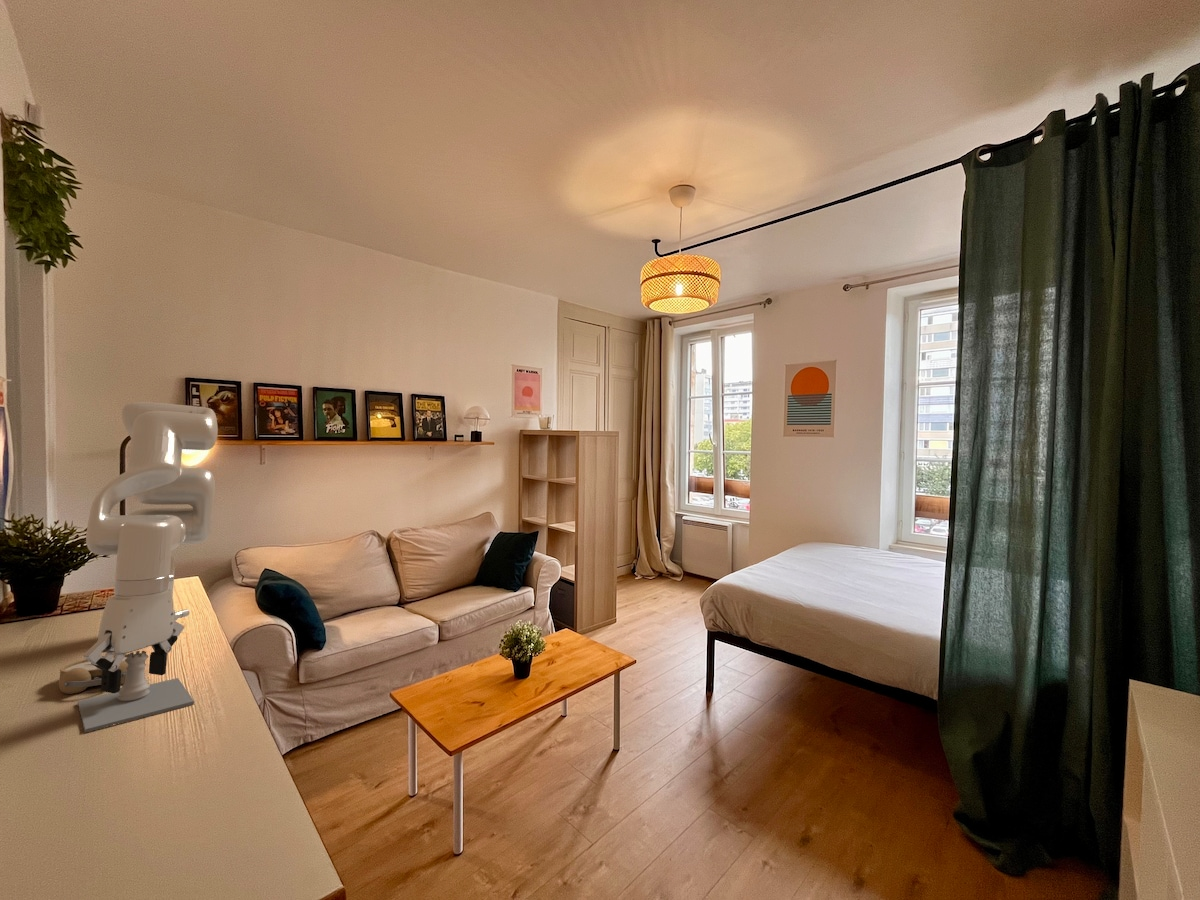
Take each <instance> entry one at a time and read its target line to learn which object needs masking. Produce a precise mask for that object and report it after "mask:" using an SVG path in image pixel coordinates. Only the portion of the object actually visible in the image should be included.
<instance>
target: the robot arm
mask: <svg viewBox="0 0 1200 900" xmlns="http://www.w3.org/2000/svg"><path fill="white" fill-rule="evenodd" d="M121 420H122V423H123V427H124V428H125V430H126V432H127V434H128V435H129V437H130V447H129V448H130V449H129V455H128V461H127V462H128V463H127V470H125V472H123V473H121V474H120V475H117V476H116V477H115V478H113V479H112V480H110V481H109V482H108V483H107V484H106V485H105V486H103V488H101V490H100V491H98V493H97V495H96V496H95V497H94V499H93V501H92V503H91V507H90V510H89V516H88V522H87V526H86V527H87V528H86V533H85V536H86V537H85V544H86V548H87V549H88V550H89V552H91V553H93V554H95V555H99V556H112V555H113V556H114V555H115V556H116V555H117V556H116V566H115V577H114V578H115V580H114V589H113V590H114V591H113V596H110V597H108V598H107V601H106V604H105V607H104V609H103V612H102V616H101V620H100V625H99V630H98V635H97V636H98V637H97V641H96V642H95V643H93V645H92V646H91V647H90V648H88V650H87V651H85V652H84V653H83V658H85V659H84V660H86V659H87V660H88V661H89V662H91V664H92V665H94V666H96V667H97V668H98V669H99V670H102V680H101V685H100V688H101V692H103V693H107V694H110V693H117V692H119V691H120V688H121V685H122V684H121V670H120V669H118V667H119V665H120V663H121V662H122V660H123V658H124V656H125V655H126V654H130V653H132V652H135V651H140V650H143V649H145V648H149V647H151V648H152V650H153V651H152V652H150V654H149V665H148V674H151V675H157V676H163V675H166V672H167V663H168V653H169V654H170V652H171V651H172V649H173V648H172V647H173V645H174V644H175V643H176V641H178V637H179V636H180V635H181V633H182V632H183V630H184V629H185V625H183V624H181V623H180V622H177V621H178V619H181V618H185V617H188V616H189V615H190V610H189V609H187V608H186V609H182V610H179V611H176V610H174V609H175V608H174V598H173V594H174V586H175V585H174V582H175V570H176V562H175V559H174V558H173V556H172V551H174V550H176V549H177V548H178V547H179V546H181V545H198V544H202V543H205V542H207V541H208V540H209V539H210V538H211V536H212V532H213V527H214V526H213V523H214V514H215V513H214V511H215V497H216V481H215V476H214V474H213V472H212V471H210V470H208V469H206V468H202V467H201V468H199V467H182V457H183V456H182V455H183V451H182V450H190V451H191V450H193V451H194V450H195V451H197V450H198V451H209V450H211V449H212V448H214V446H215V445H216V442H217V439H218V432H219V430H218V429H219V427H218V421H217V420H218V419H217V415H216V412H215V411H214V410H213V409H212V408H210V407H204V406H195V405H187V404H186V405H185V404H175V403H166V402H154V401H135V402H133V401H132V402H129V403H127V404H125V405H123V406H122V410H121ZM132 496H134V498H135V499H136V501H137V502H138V503H141V504H145V505H165V506H166V505H167V506H168V505H173V506H174V505H177V506H178V505H188V506H191V508H190V507H189V508H188V507H181V508H180V507H179V508H176V507H175V508H173V507H169V508H168V507H167V508H165V507H164V508H162V507H161V508H160V507H159V508H157V507H156V508H154V507H153V508H143V509H142V508H141V509H137V510H134V511H132V512H130V513H129V514H126V515H125V514H124V515H111V511H112V509H113V508H114V507H115V506H116V505H117V504H119V503H120V502H122V501H123V500H125V499H128V498H130V497H132ZM102 653H105V654H104V655H101V654H102ZM114 655H116V656H115V657H114ZM102 656H104V658H103V657H102ZM113 657H114V659H113ZM112 659H113V661H112V662H111V660H112ZM120 684H121V685H120Z"/></svg>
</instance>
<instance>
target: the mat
mask: <svg viewBox="0 0 1200 900" xmlns="http://www.w3.org/2000/svg"><path fill="white" fill-rule="evenodd" d="M149 684H150V687H149V688H148V689H149V690H150V692H149V693H148V695H147V696H145V697H143V698H141V699H138V700H134V701H126V702H124V701H120V700H119V699H118V696H119V695H120V694H119V693H118V692H117V693H106V694H102V695H97V696H93V697H88V698H84V699H80V700H77V707H78V706H79V708H78V711H79V710H80V712H79V715H80V714H81V716H80V719H82V720H81V723H82V722H83V723H82V726H83V727H82V728H83V731H84V733H85V734H87V733H90V732H94V731H93V730H95V731H99V730H102V729H101V728H103V729H105V728H104V727H106V728H108V727H107V726H110V727H112V726H111V725H113V724H118V723H122V722H125V723H128V722H127V721H129V722H132V721H131V720H133V721H135V720H136V719H137V720H140V719H144V718H148V717H151V716H155V715H158V714H162V713H166V712H170V711H174V710H178V709H183V708H186V707H189V706H192V705H193V706H194V705H195V700H194V699H193V697H192V696H191V694H190V693H189V691H188V690H187V689H186V687H185V686H184V684H183V683H182V682H181V681H180V678H178V677H176V678H172V679H167V680H163V681H158V682H153V683H149ZM143 717H144V718H143ZM122 724H123V723H122ZM118 725H119V724H118ZM98 729H99V730H98ZM86 732H87V733H86Z"/></svg>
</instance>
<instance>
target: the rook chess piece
mask: <svg viewBox="0 0 1200 900" xmlns="http://www.w3.org/2000/svg"><path fill="white" fill-rule="evenodd" d="M127 654H128V657H127V658H126V659H125V662H126V663H127V664H128V666H127V667H126V669H127V675H126V679H125V682H124V683H123V684H121V686H120V691H119V692H118V693H119V694H120V695H119V696H118V699H119V700H120V701H124V702H126V701H134V700H138V699H141V698H143V697H145V696H147V695H148V693H149V692H150V690H149V689H148V688H149V687H150V684H151V683H149V682H148V680H147V679H146V672H145V668H146V667H147V664H146V660H147V659H148V658H149V655H148V654H147V651H146V650H141V653H140V650H136V652H135V651H133V652H130V653H127Z"/></svg>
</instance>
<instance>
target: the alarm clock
mask: <svg viewBox="0 0 1200 900" xmlns="http://www.w3.org/2000/svg"><path fill="white" fill-rule="evenodd" d="M128 654H129V653H126V655H125V656H124V658H123V660H122V662H121V663H120V665H119V667H118V669H120V670H121V684H120V686H122V685H123V684H124V682H125V679H126V675H127V669H126V667H127V666H128V664H127V663H126V662H125V659H126V658H127V657H128ZM101 656H102V657H103V658H104V656H105V655H101ZM115 656H116V655H114V657H115ZM114 657H113V659H114ZM113 659H112V660H111V662H112V661H113ZM59 671H60V672H59V680H58V689H59V690H60V691H61V692H62V693H64V694H67V695H73V694H74V693H75V694H79V693H81V692H83V691H85V690H86V689H88V688H90V687H96V686H101V680H102V670H99V669H98V668H97V667H96V666H94V665H92V664H91V662H89V661H88V660H87V659H82V660H78V661H75V662H71V663H68V664H66V665H63V666H62V667H61V668H59Z"/></svg>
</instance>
